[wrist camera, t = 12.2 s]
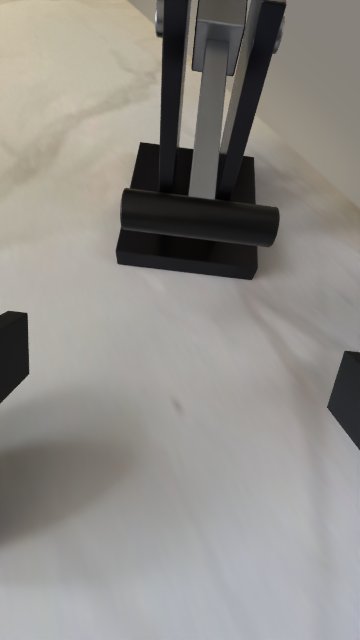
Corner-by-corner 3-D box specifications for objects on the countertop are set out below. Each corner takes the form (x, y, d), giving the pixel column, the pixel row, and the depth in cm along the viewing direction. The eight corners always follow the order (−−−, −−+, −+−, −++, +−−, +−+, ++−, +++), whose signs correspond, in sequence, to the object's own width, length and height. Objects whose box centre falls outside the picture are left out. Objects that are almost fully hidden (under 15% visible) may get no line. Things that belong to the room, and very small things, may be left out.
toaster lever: (262, 256, 15) (282, 234, 12) (124, 239, 14) (116, 213, 12) (277, 38, 17) (296, -17, 14) (155, 20, 16) (154, -39, 14)
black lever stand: (251, 280, 23) (364, 60, 11) (117, 264, 23) (78, 19, 11) (249, 171, 29) (322, -57, 16) (140, 157, 28) (132, -87, 16)
